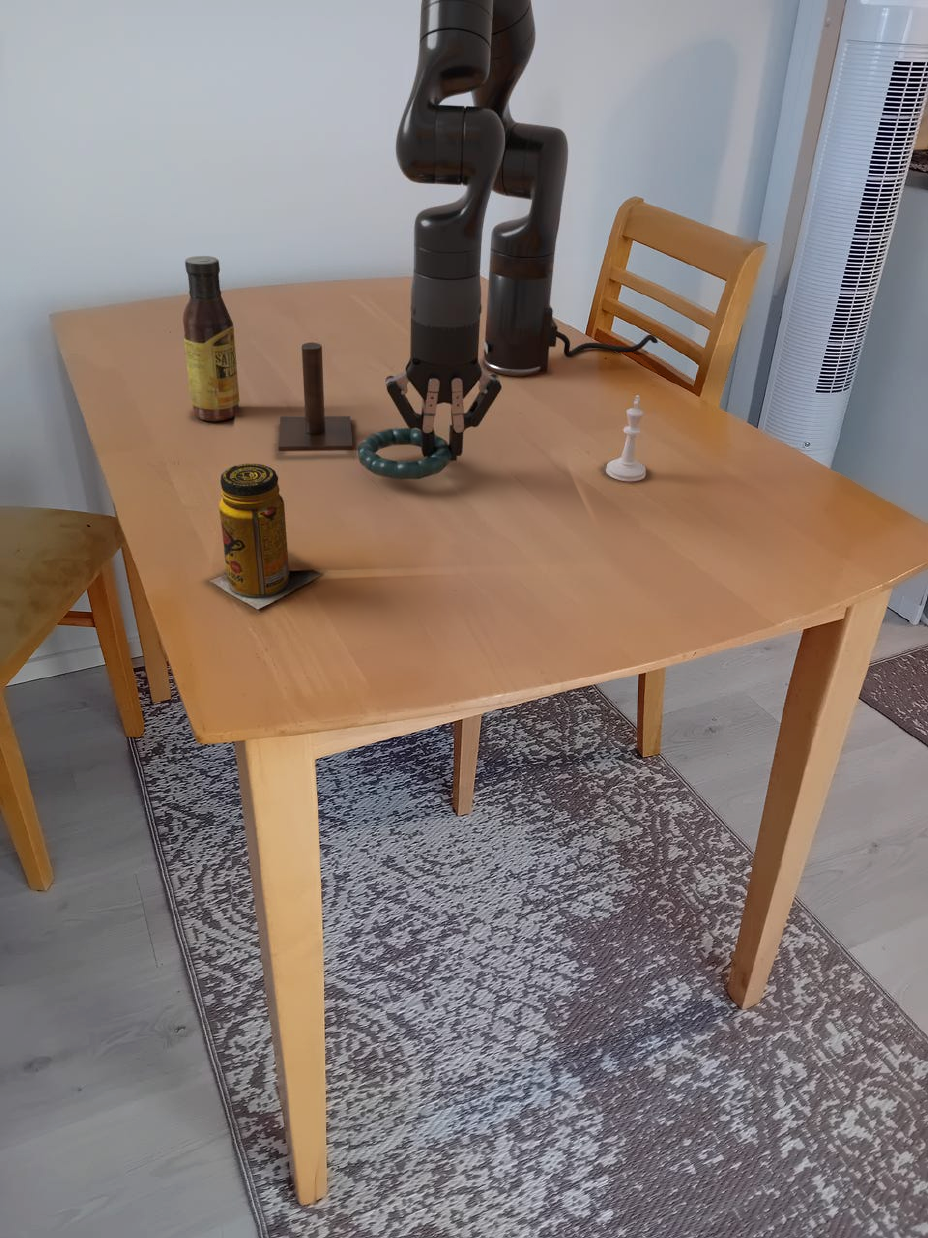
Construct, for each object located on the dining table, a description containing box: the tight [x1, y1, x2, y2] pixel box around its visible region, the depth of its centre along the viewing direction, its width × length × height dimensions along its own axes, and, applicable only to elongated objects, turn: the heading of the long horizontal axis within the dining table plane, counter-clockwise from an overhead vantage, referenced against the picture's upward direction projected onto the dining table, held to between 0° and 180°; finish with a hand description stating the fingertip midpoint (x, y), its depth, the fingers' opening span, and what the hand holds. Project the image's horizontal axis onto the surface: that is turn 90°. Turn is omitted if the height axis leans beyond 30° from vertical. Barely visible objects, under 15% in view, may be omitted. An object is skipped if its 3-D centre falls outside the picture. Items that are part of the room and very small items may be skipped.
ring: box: [357, 427, 452, 481], centre depth 114 cm, size 11×11×2 cm
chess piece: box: [605, 394, 647, 482], centre depth 118 cm, size 5×5×10 cm
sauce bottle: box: [182, 255, 240, 422], centre depth 124 cm, size 7×6×20 cm
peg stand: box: [278, 342, 354, 452], centre depth 121 cm, size 9×9×12 cm
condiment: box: [209, 463, 323, 610], centre depth 94 cm, size 7×8×12 cm
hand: (441, 457), depth 115 cm, fingers closed on ring, 2 cm apart
